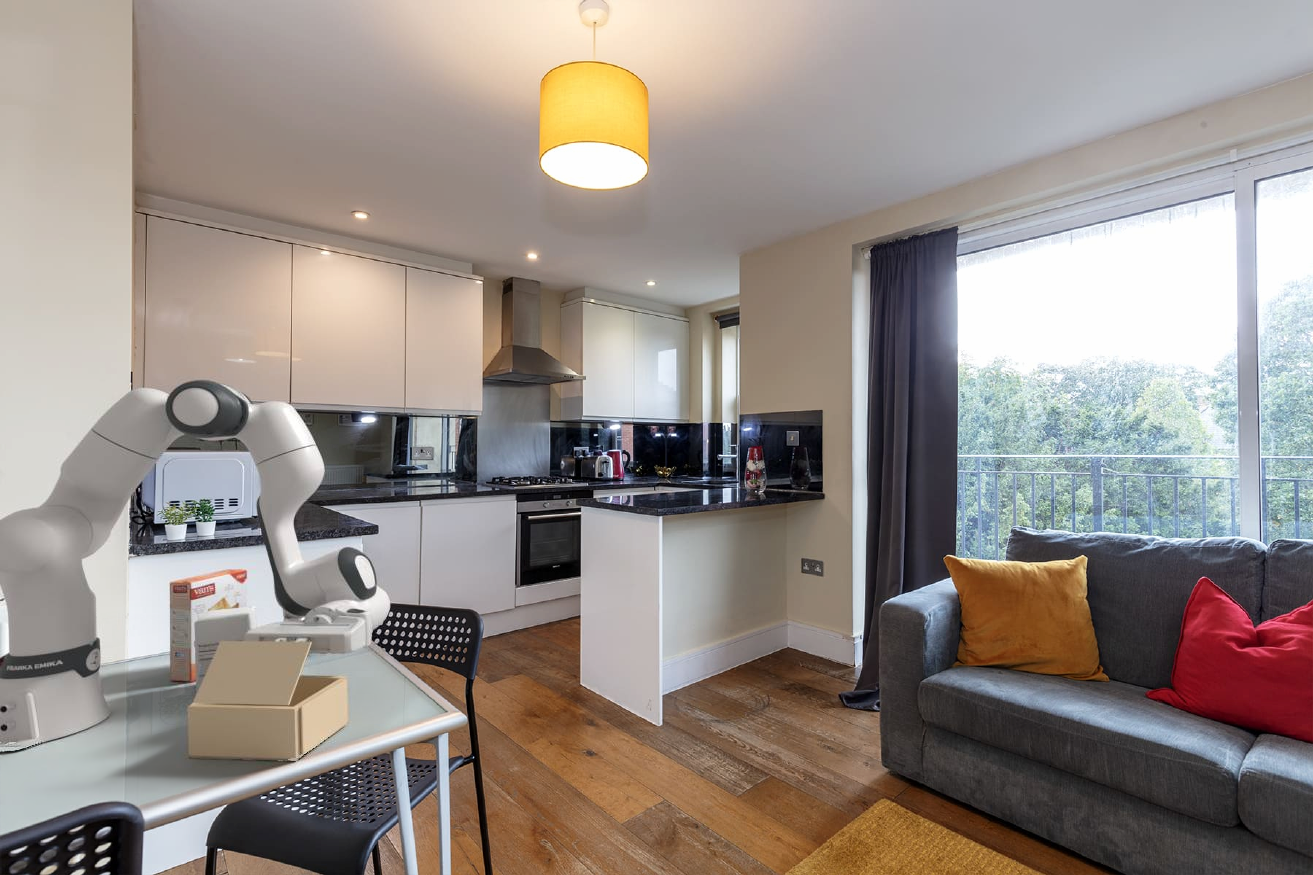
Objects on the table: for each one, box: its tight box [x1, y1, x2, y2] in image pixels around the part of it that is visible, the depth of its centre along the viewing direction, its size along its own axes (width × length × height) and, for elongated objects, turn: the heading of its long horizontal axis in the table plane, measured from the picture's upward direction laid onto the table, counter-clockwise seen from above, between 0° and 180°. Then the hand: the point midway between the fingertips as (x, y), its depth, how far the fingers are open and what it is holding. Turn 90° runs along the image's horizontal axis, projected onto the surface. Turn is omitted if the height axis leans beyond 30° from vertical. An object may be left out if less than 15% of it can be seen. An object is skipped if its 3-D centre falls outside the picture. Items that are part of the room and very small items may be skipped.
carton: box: [187, 674, 349, 761], centre depth 101 cm, size 19×14×8 cm
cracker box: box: [169, 568, 248, 683], centre depth 135 cm, size 14×6×21 cm, turn 168°
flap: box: [192, 641, 312, 705], centre depth 97 cm, size 16×1×10 cm
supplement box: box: [194, 605, 258, 696], centre depth 125 cm, size 9×9×15 cm
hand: (274, 652), depth 102 cm, fingers closed
